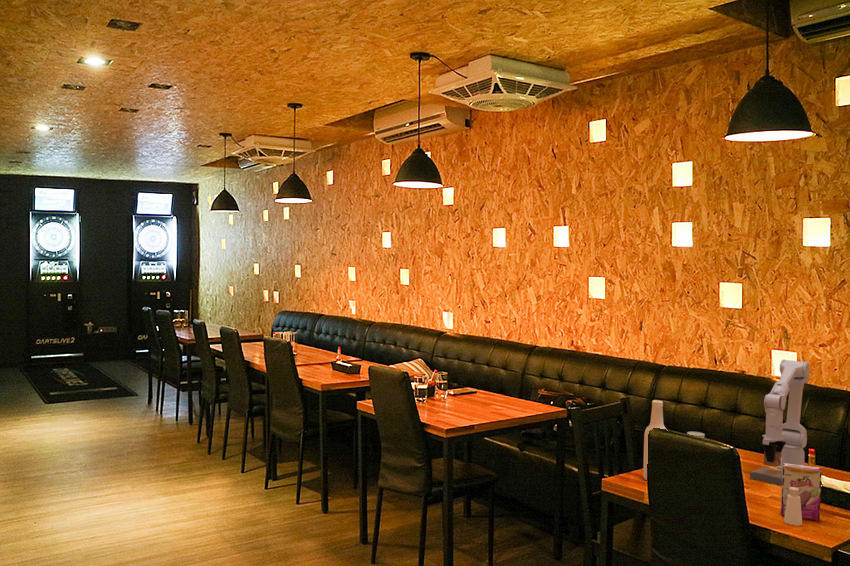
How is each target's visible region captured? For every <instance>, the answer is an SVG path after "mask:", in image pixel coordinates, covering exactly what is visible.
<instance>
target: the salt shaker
mask: <svg viewBox="0 0 850 566" xmlns="http://www.w3.org/2000/svg"><path fill="white" fill-rule="evenodd" d="M798 494H799V489H798V488H795V487H790V488H789V495H788V496H787V502H786V509H785V516H783V517H784V519H783V522H784V523H785V524H787V525H791V526H802V525H803V519H802V514H801V501H800V496H798Z"/></svg>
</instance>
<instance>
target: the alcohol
mask: <svg viewBox="0 0 850 566" xmlns="http://www.w3.org/2000/svg"><path fill="white" fill-rule="evenodd" d="M663 407H664V402H663V400H657V399H654V400H652V401H651V413H650V423H649V424H648V426H646V428H645V431H644V435H643V438H644V439H643V475H642V477H643V479H644V480H645V481H646V480H647V464H648V434H649V431H650V430H651V429H653V428H660V429H666V430H667V431H668V429H667V428H666V427H665V424H664V410H663V409H664V408H663Z"/></svg>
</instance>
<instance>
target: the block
mask: <svg viewBox="0 0 850 566" xmlns="http://www.w3.org/2000/svg"><path fill="white" fill-rule="evenodd" d="M781 457H782V452H777V451H776V452H775V457H774V461H773V462H768V461H767V459H766V454H765V451H764V450H763V465H764V466H768V467H773V468H777V467H778V466H781Z"/></svg>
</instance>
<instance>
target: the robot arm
mask: <svg viewBox="0 0 850 566" xmlns="http://www.w3.org/2000/svg"><path fill="white" fill-rule="evenodd" d="M810 370H811V368H810V363H809V362H808V361H798V360H791V359H790V360H788V359H781V361H780V363H779V372H780V378H779V380H778V381H776V382H775V383H774V384H773V386H772V388H771V390H770V392H769V393H768V394H765V396H764V399H763V407H764V413H766V414H765V434H762V438H763V439H762V442H761V446H762V448H763V452H764V451H765V454H766V459H767V461H768V462H773V461H774V457H775V452H776V451H777V452H781V465H780V466H778V467H776V468H777V469H780V470H782V468H783V463H789V464H796V465H804V466H805V457H806V456H805V454H806V453H805V450H804V448H805V447H806V446H807V442H808V436H807V429H806V428H805V426H803V425H802V424H801V423H800V421H801V414H802V413H801V411H802V402H803V392H804V391H803V390H804V385H805V384H806V383H808V382H809V380H810ZM787 397H788V403H787ZM786 404H787V411H786V412H787V413H786V422H784V423H783V417H784V410H785V409H786Z"/></svg>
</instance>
